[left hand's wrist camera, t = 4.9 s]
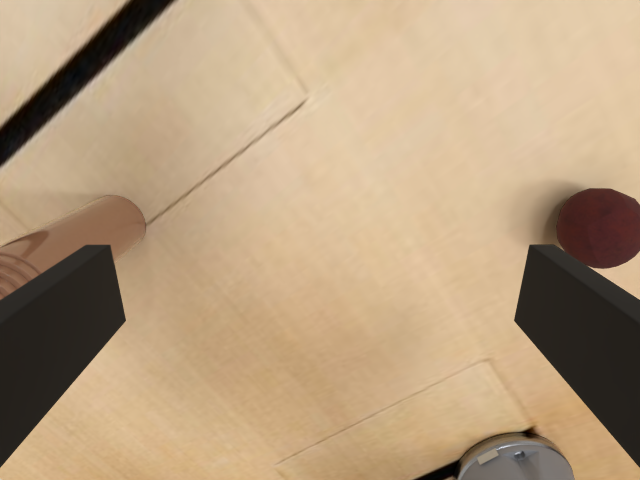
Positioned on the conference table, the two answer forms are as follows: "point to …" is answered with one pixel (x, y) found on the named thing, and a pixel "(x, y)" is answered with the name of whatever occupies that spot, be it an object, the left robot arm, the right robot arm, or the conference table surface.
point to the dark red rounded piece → (600, 227)
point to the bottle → (70, 239)
